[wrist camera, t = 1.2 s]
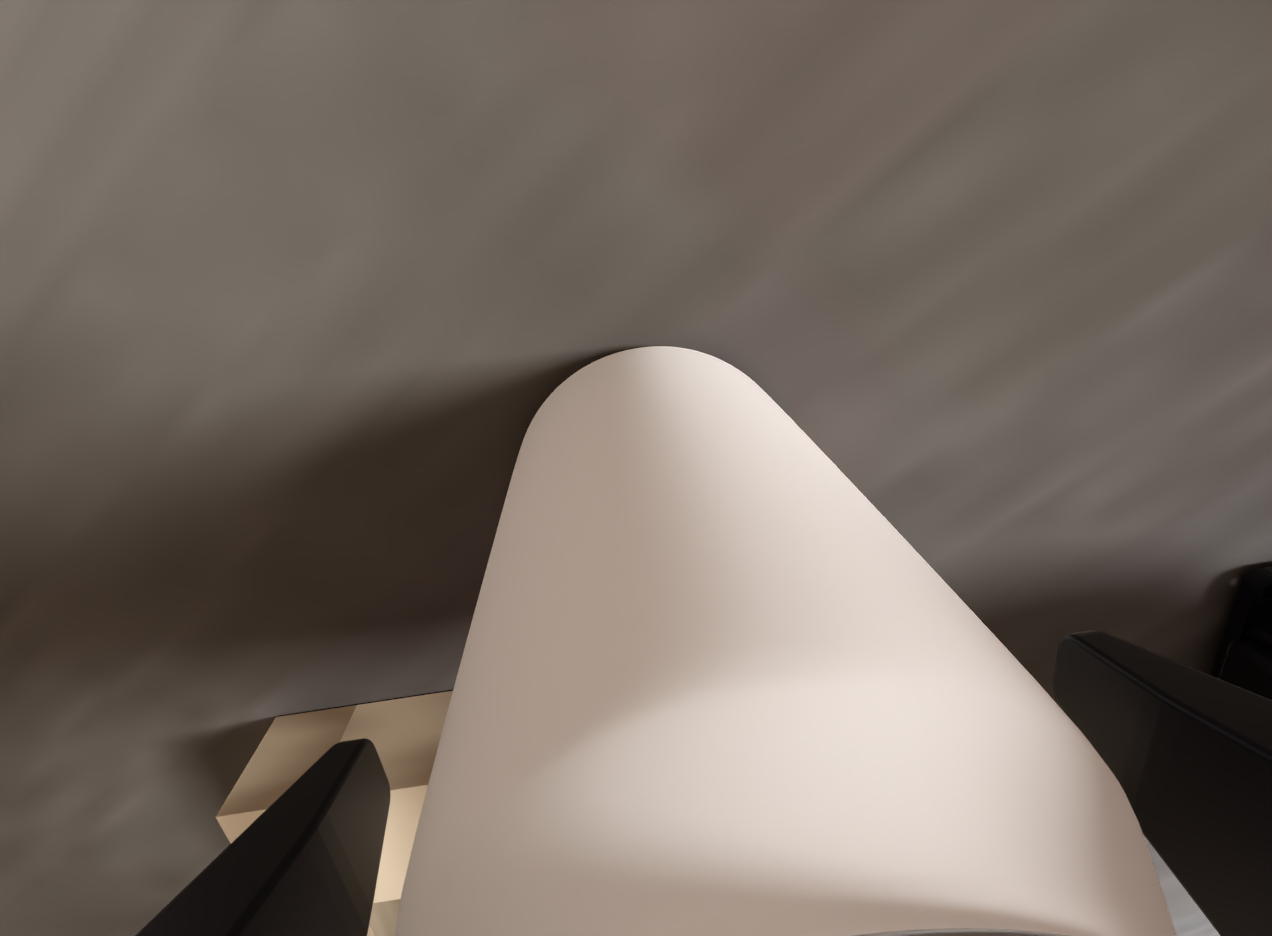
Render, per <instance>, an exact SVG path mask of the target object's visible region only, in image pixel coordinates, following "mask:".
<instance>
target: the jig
mask: <svg viewBox="0 0 1272 936" xmlns="http://www.w3.org/2000/svg"><path fill="white" fill-rule="evenodd" d="M452 693H453V691H448V692H441V693H434V694H428V695H421V696H414V697H408V698H401V699H394V700H387V701H381V702H374V703H367V704H361V705H354V706H347V707H341V708H334V709H327V710H321V711H314V712H307V713H300V714H294V715H287V716H280V717H276V718H275V719H274V721H273V723H272V724H271V726H270V728H269V729H268V731H267V733H266V734H265V736H264V738H263V739H262V741H261V743H260V744H259V746H258V748H257V749H256V751H255V753H254V754H253V756H252V757H251V759H250V761H249V762H248V764H247V766H246V767H245V769H244V771H243V772H242V774H241V776H240V777H239V779H238V781H237V782H236V784H235V786H234V787H233V789H232V791H231V792H230V794H229V796H228V797H227V799H226V801H225V802H224V804H223V806H222V807H221V809H220V810H219V812H218V814H217V815H216V819H217V820H218V822H219V824H220V826H221V828H222V829H223V831H224V833H225V835H226V836H227V838H228V840H229V842H230V843H232V842H233V841H234V840H235V839H236V838H237V837H238V836H239V835H240V834H241V833H242V832H244V831H245V830H246V829H247V828H248V827H249V826H250V825H251V824H252V823H253V822H254V821H255V820H256V819H257V818H258V817H259V816H260V815H261V814H262V813H263V812H264V811H265V810H266V809H267V808H268V807H269V806H271V805H272V804H273V803H274V802H275V801H276V800H277V799H278V798H279V797H280V796H281V795H282V794H283V793H284V792H285V791H286V790H287V789H288V788H289V787H290V786H291V785H292V784H293V783H294V782H295V781H296V780H297V779H299V778H300V777H301V776H302V775H303V774H304V773H305V772H306V771H307V770H308V769H309V768H310V767H311V766H312V765H313V764H314V763H315V762H316V761H317V760H318V759H319V758H320V757H321V756H322V755H323V754H324V753H325V752H327V751H328V750H329V749H330V748H331V747H332V746H333V745H335V744H336V743H339V742H342V741H349V740H355V739H362V738H365V739H369V740H371V741H372V742H373V744H374V746H375V748H376V750H377V753H378V755H379V758H380V760H381V763H382V765H383V768H384V770H385V773H386V776H387V778H388V781H389V784H390V793H391V797H390V806H389V812H388V818H387V824H386V830H385V836H384V842H383V848H382V854H381V860H380V866H379V871H378V877H377V883H376V889H375V895H374V901H373V907H372V913H371V918H370V923H369V928H368V933H367V936H395V932H396V926H397V919H398V913H399V907H400V901H401V895H402V889H403V885H404V881H405V877H406V872H407V868H408V864H409V860H410V856H411V851H412V847H413V843H414V839H415V834H416V830H417V826H418V822H419V818H420V814H421V811H422V807H423V803H424V799H425V795H426V791H427V788H428V784H429V780H430V776H431V772H432V768H433V765H434V761H435V757H436V753H437V749H438V746H439V742H440V738H441V734H442V730H443V727H444V723H445V719H446V715H447V712H448V708H449V704H450V700H451V697H452Z"/></svg>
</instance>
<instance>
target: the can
mask: <svg viewBox="0 0 1272 936" xmlns="http://www.w3.org/2000/svg"><path fill="white" fill-rule="evenodd" d="M395 936H1177V935H1176V933H1175V929H1174V926H1173V923H1172V920H1171V917H1170V914H1169V910H1168V907H1167V904H1166V901H1165V898H1164V894H1163V891H1162V888H1161V885H1160V882H1159V878H1158V875H1157V872H1156V869H1155V866H1154V863H1153V860H1152V857H1151V854H1150V852H1149V849H1148V846H1147V843H1146V841H1145V838H1144V835H1143V833H1142V830H1141V827H1140V825H1139V822H1138V820H1137V818H1136V815H1135V813H1134V811H1133V809H1132V807H1131V805H1130V803H1129V800H1128V798H1127V796H1126V794H1125V792H1124V790H1123V788H1122V787H1121V785H1120V783H1119V781H1118V780H1117V779H1116V777H1115V776H1114V774H1113V773H1112V771H1111V770H1110V769H1109V767H1108V766H1107V765H1106V763H1105V762H1104V761H1103V759H1102V758H1101V757H1100V755H1099V754H1098V753H1097V751H1096V750H1095V749H1094V747H1093V746H1092V745H1091V743H1090V742H1089V741H1088V739H1087V738H1086V737H1085V736H1084V734H1083V733H1082V732H1081V731H1080V730H1079V728H1078V727H1077V726H1076V725H1075V724H1074V723H1073V722H1072V721H1071V719H1070V718H1069V717H1068V716H1067V715H1066V714H1065V713H1064V711H1063V710H1062V709H1061V708H1060V707H1059V706H1058V705H1057V703H1056V702H1055V701H1054V700H1053V699H1052V698H1051V697H1050V696H1049V694H1048V693H1047V692H1046V691H1045V690H1044V689H1043V688H1042V686H1041V685H1040V684H1039V683H1038V682H1037V681H1036V680H1035V679H1034V678H1033V676H1032V675H1031V674H1030V673H1029V672H1028V671H1027V670H1026V669H1025V668H1024V667H1023V666H1022V665H1021V663H1020V662H1019V661H1018V660H1017V659H1016V658H1015V657H1014V656H1013V655H1012V654H1011V653H1010V652H1009V650H1008V649H1007V648H1006V647H1005V646H1004V645H1003V644H1002V643H1001V642H1000V641H999V640H998V639H997V637H996V636H995V635H994V634H993V633H992V632H991V631H990V630H989V629H988V628H987V627H986V626H985V624H984V623H983V622H982V621H981V620H980V619H979V618H978V617H977V616H976V615H975V614H974V612H973V611H972V610H971V609H970V608H969V607H968V606H967V605H966V604H965V603H964V602H963V601H962V600H961V599H960V598H959V596H958V595H957V594H956V593H955V592H954V591H953V590H952V589H951V588H950V587H949V586H948V585H947V584H946V583H945V581H944V580H943V579H942V578H941V577H940V576H939V575H938V574H937V573H936V572H935V571H934V570H933V569H932V568H931V567H930V565H929V564H928V563H927V562H926V561H925V560H924V559H923V558H922V557H921V556H920V555H919V554H918V553H917V552H916V550H915V549H914V548H913V547H912V546H911V545H910V544H909V543H908V542H907V541H906V540H905V539H904V538H903V537H902V535H901V534H900V533H899V532H898V531H897V530H896V529H895V528H894V527H893V526H892V525H891V524H890V523H889V522H888V521H887V520H886V518H885V517H884V516H883V515H882V514H881V513H880V512H879V511H878V510H877V509H876V508H875V507H874V506H873V505H872V504H871V503H870V501H869V500H868V499H867V498H866V497H865V496H864V495H863V494H862V493H861V492H860V491H859V490H858V489H857V488H856V487H855V486H854V485H853V483H852V482H851V481H850V480H849V479H848V478H847V477H846V476H845V475H844V474H843V473H842V472H841V471H840V470H839V469H838V468H837V466H836V465H835V464H834V463H833V462H832V461H831V460H830V459H829V458H828V457H827V456H826V455H825V454H824V453H823V452H822V451H821V450H820V449H819V448H818V446H817V445H816V444H815V443H814V442H813V441H812V440H811V439H810V438H809V437H808V436H807V435H806V434H805V433H804V432H803V431H802V430H801V429H800V428H799V426H798V425H797V424H796V423H795V422H794V421H793V420H792V419H791V418H790V417H789V416H788V415H787V414H786V413H785V412H784V411H783V410H782V409H781V408H780V407H779V406H778V405H777V404H776V403H775V402H774V401H773V400H772V399H771V398H770V397H769V396H768V395H767V393H766V392H764V391H763V390H762V389H761V388H760V387H759V386H758V385H757V384H756V383H755V382H754V381H753V380H751V379H750V378H749V377H748V376H746V375H745V374H744V373H742V372H741V371H740V370H738V369H737V368H735V367H733V366H732V365H730V364H728V363H726V362H724V361H722V360H720V359H718V358H716V357H713V356H711V355H708V354H705V353H702V352H699V351H695V350H690V349H685V348H679V347H667V346H653V347H641V348H635V349H630V350H625V351H621V352H618V353H614V354H611V355H609V356H606V357H603V358H601V359H599V360H597V361H594V362H592V363H590V364H589V365H587V366H585V367H583V368H582V369H580V370H578V371H577V372H576V373H574V374H573V375H571V376H570V377H569V378H567V379H566V380H565V381H564V382H563V383H561V384H560V385H559V386H558V387H557V388H556V389H555V390H554V391H553V392H552V393H551V394H550V396H549V397H548V398H547V399H546V400H545V402H544V403H543V404H542V406H541V407H540V408H539V410H538V411H537V413H536V414H535V416H534V418H533V420H532V422H531V423H530V425H529V427H528V429H527V432H526V434H525V437H524V439H523V442H522V445H521V448H520V451H519V454H518V457H517V461H516V464H515V467H514V471H513V474H512V478H511V481H510V485H509V488H508V492H507V495H506V499H505V502H504V506H503V510H502V513H501V517H500V520H499V524H498V528H497V531H496V535H495V539H494V542H493V546H492V549H491V553H490V557H489V560H488V564H487V568H486V571H485V575H484V579H483V582H482V586H481V590H480V593H479V597H478V601H477V604H476V608H475V612H474V615H473V619H472V623H471V626H470V630H469V634H468V637H467V641H466V645H465V648H464V652H463V656H462V660H461V663H460V667H459V671H458V674H457V678H456V682H455V686H454V689H453V693H452V697H451V700H450V704H449V708H448V712H447V715H446V719H445V723H444V727H443V730H442V734H441V738H440V742H439V746H438V749H437V753H436V757H435V761H434V765H433V768H432V772H431V776H430V780H429V784H428V788H427V791H426V795H425V799H424V803H423V807H422V811H421V814H420V818H419V822H418V826H417V830H416V834H415V839H414V843H413V847H412V851H411V856H410V860H409V864H408V868H407V872H406V877H405V881H404V885H403V889H402V895H401V901H400V907H399V913H398V919H397V926H396V932H395Z"/></svg>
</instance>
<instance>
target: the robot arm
mask: <svg viewBox="0 0 1272 936" xmlns="http://www.w3.org/2000/svg"><path fill="white" fill-rule="evenodd" d="M1053 691H1054V694H1055V697H1056V699H1057V701H1058V703H1059V705H1060V707H1061V708H1062V710H1063V711H1064V713H1065V714H1066V715H1067V716H1068V717H1069V718H1070V719H1071V721H1072V722H1073V723H1074V724H1075V725H1076V726H1077V727H1078V728H1079V730H1080V731H1081V732H1082V733H1083V734H1084V736H1085V737H1086V738H1087V739H1088V741H1089V742H1090V743H1091V745H1092V746H1093V747H1094V749H1095V750H1096V751H1097V753H1098V754H1099V755H1100V757H1101V758H1102V759H1103V761H1104V762H1105V763H1106V765H1107V766H1108V767H1109V769H1110V770H1111V771H1112V773H1113V774H1114V776H1115V777H1116V779H1117V780H1118V781H1119V783H1120V785H1121V787H1122V788H1123V790H1124V792H1125V794H1126V796H1127V798H1128V800H1129V803H1130V805H1131V807H1132V809H1133V811H1134V813H1135V815H1136V818H1137V820H1138V822H1139V825H1140V827H1141V830H1142V833H1143V834H1144V836H1145V837H1146V838H1147V840H1148V841H1149V842H1150V844H1151V845H1152V846H1153V848H1154V849H1155V850H1156V851H1157V853H1158V854H1159V855H1160V857H1161V858H1162V859H1163V861H1164V862H1165V863H1166V865H1167V866H1168V867H1169V869H1170V870H1171V871H1172V873H1173V874H1174V875H1175V876H1176V878H1177V879H1178V880H1179V882H1180V883H1181V884H1182V886H1183V887H1184V888H1185V890H1186V891H1187V892H1188V894H1189V895H1190V896H1191V897H1192V899H1193V900H1194V901H1195V903H1196V904H1197V905H1198V907H1199V908H1200V909H1201V911H1202V912H1203V913H1204V915H1205V916H1206V917H1207V919H1208V920H1209V921H1210V922H1211V924H1212V925H1213V926H1214V928H1215V929H1216V930H1217V932H1218V933H1219V934H1220V936H1272V566H1269V567H1263V568H1259V569H1256V570H1254V571H1252V572H1251V573H1249V574H1248V575H1247V576H1246V577H1245V578H1244V579H1243V581H1242V583H1241V585H1240V587H1239V591H1238V594H1237V597H1236V600H1235V604H1234V607H1233V610H1232V613H1231V616H1230V620H1229V623H1228V626H1227V629H1226V633H1225V636H1224V639H1223V642H1222V645H1221V649H1220V652H1219V655H1218V658H1217V662H1216V665H1215V668H1214V671H1213V675H1212V676H1211V675H1208V674H1206V673H1203V672H1201V671H1198V670H1196V669H1193V668H1191V667H1188V666H1186V665H1184V664H1181V663H1179V662H1176V661H1174V660H1171V659H1169V658H1166V657H1164V656H1161V655H1159V654H1156V653H1154V652H1152V651H1149V650H1147V649H1144V648H1142V647H1139V646H1137V645H1134V644H1132V643H1129V642H1127V641H1124V640H1122V639H1120V638H1117V637H1115V636H1112V635H1110V634H1107V633H1105V632H1102V631H1098V630H1089V631H1083V632H1076V633H1069V634H1067V635H1064V636H1063V638H1062V639H1061V640H1060V643H1059V648H1058V654H1057V659H1056V665H1055V670H1054V676H1053ZM390 797H391V793H390V784H389V781H388V778H387V776H386V773H385V770H384V768H383V765H382V763H381V760H380V758H379V755H378V753H377V750H376V748H375V746H374V744H373V742H372V741H371V740H369V739H365V738H362V739H355V740H349V741H342V742H339V743H336V744H335V745H333V746H332V747H331V748H330V749H329V750H328V751H327V752H325V753H324V754H323V755H322V756H321V757H320V758H319V759H318V760H317V761H316V762H315V763H314V764H313V765H312V766H311V767H310V768H309V769H308V770H307V771H306V772H305V773H304V774H303V775H302V776H301V777H300V778H299V779H297V780H296V781H295V782H294V783H293V784H292V785H291V786H290V787H289V788H288V789H287V790H286V791H285V792H284V793H283V794H282V795H281V796H280V797H279V798H278V799H277V800H276V801H275V802H274V803H273V804H272V805H271V806H269V807H268V808H267V809H266V810H265V811H264V812H263V813H262V814H261V815H260V816H259V817H258V818H257V819H256V820H255V821H254V822H253V823H252V824H251V825H250V826H249V827H248V828H247V829H246V830H245V831H244V832H242V833H241V834H240V835H239V836H238V837H237V838H236V839H235V840H234V841H233V842H232V843H231V844H230V845H229V846H228V847H227V848H226V849H225V850H224V851H223V852H222V853H221V854H220V855H219V856H218V857H217V858H216V859H214V860H213V861H212V862H211V863H210V864H209V865H208V866H207V867H206V868H205V869H204V870H203V871H202V872H201V873H200V874H199V875H198V876H197V877H196V878H195V879H194V880H193V881H192V882H191V883H190V884H189V885H187V886H186V887H185V888H184V889H183V890H182V891H181V892H180V893H179V894H178V895H177V896H176V897H175V898H174V899H173V900H172V901H171V902H170V903H169V904H168V905H167V906H166V907H165V908H164V909H163V910H162V911H161V912H159V913H158V914H157V915H156V916H155V917H154V918H153V919H152V920H151V921H150V922H149V923H148V924H147V925H146V926H145V927H144V928H143V929H142V930H141V931H140V932H139V933H138V934H137V935H136V936H367V933H368V928H369V923H370V918H371V913H372V907H373V901H374V895H375V889H376V883H377V877H378V871H379V866H380V860H381V854H382V848H383V842H384V836H385V830H386V824H387V818H388V812H389V806H390Z"/></svg>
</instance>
